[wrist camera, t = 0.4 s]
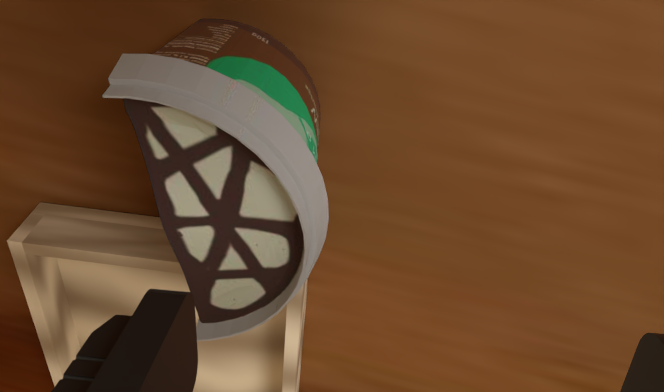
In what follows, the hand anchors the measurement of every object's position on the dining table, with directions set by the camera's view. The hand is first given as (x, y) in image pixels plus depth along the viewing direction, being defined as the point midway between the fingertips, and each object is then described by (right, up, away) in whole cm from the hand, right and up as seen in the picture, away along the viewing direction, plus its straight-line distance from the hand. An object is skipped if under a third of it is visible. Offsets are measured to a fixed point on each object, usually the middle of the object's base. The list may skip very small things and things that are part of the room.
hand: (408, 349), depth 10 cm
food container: (-4, +7, +18) cm, 20 cm away
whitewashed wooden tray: (-11, -5, +27) cm, 30 cm away
